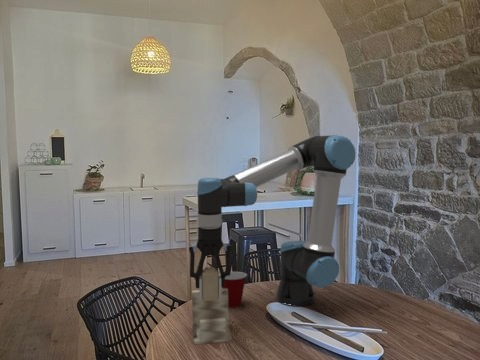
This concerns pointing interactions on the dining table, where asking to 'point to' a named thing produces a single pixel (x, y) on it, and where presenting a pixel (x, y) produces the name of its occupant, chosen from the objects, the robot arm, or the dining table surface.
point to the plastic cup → (235, 287)
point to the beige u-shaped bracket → (210, 319)
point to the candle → (210, 284)
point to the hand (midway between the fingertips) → (210, 296)
